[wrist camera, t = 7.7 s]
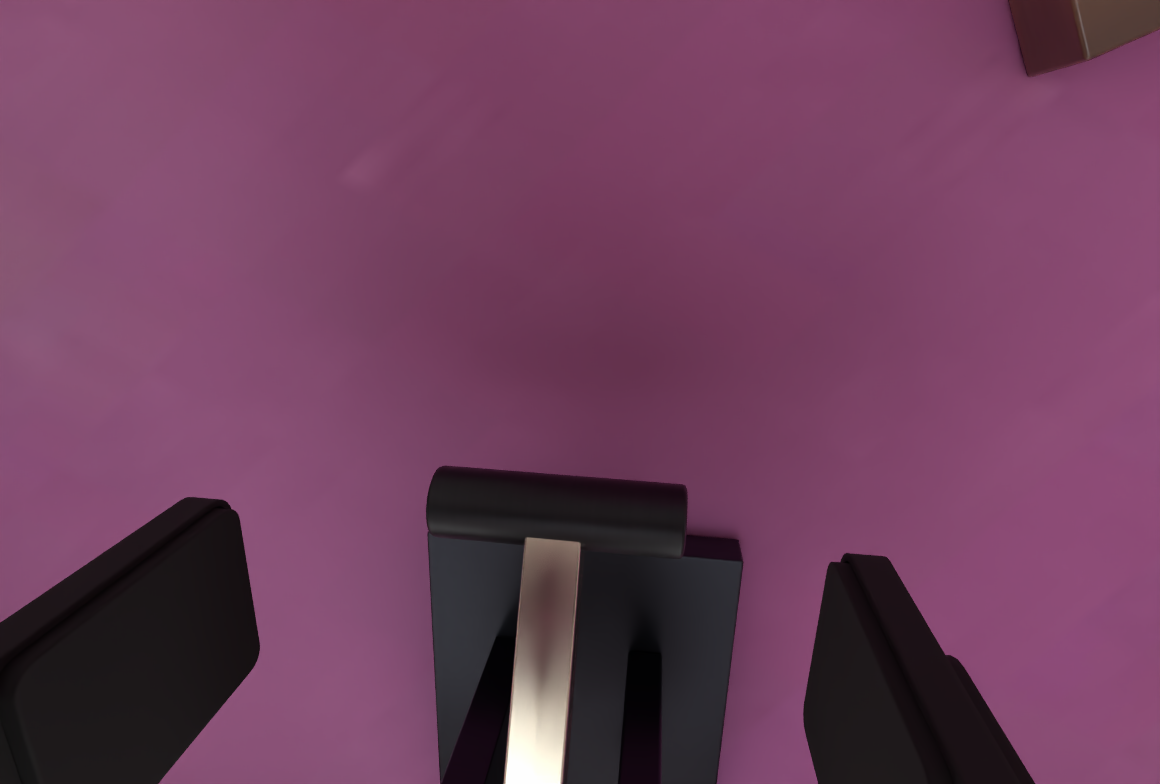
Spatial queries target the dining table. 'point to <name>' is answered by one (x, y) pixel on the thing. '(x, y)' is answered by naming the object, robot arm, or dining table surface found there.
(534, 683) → the switch lever
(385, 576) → the dining table surface
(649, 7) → the dining table surface
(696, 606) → the switch bracket
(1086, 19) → the button block
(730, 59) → the dining table surface
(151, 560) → the robot arm
